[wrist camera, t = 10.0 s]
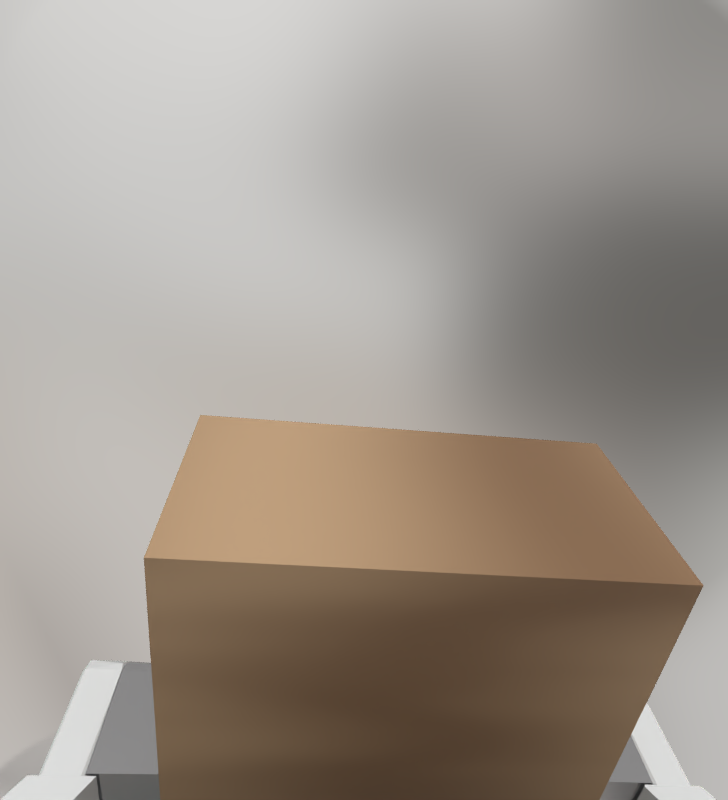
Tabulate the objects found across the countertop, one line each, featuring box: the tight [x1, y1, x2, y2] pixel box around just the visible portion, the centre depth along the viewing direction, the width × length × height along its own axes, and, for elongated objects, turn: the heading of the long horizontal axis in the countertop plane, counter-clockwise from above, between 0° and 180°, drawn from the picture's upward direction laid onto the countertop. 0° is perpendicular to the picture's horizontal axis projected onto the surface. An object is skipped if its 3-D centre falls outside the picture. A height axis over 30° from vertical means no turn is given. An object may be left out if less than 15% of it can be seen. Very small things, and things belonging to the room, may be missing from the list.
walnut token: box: [144, 415, 703, 800], centre depth 9 cm, size 5×2×10 cm, turn 93°
